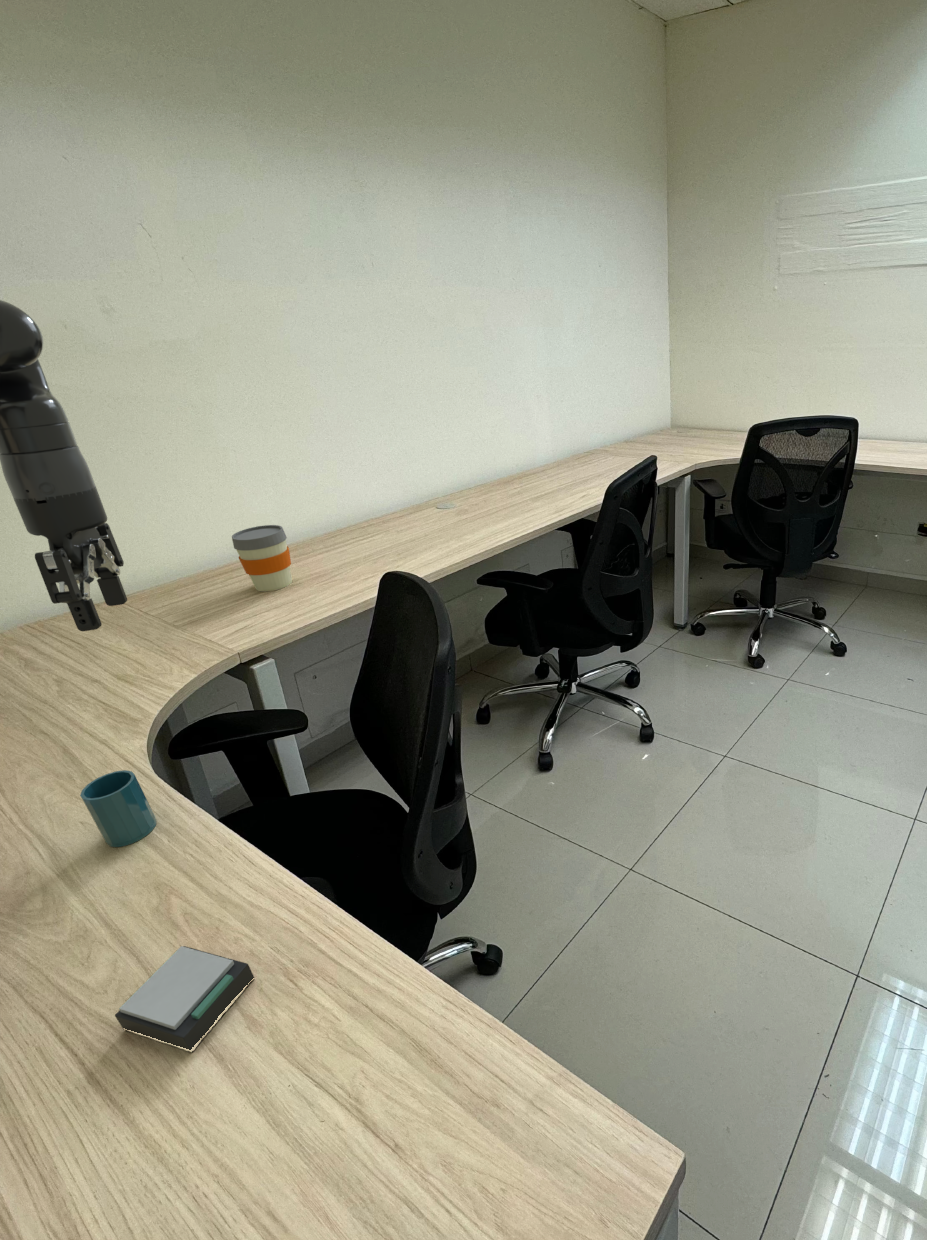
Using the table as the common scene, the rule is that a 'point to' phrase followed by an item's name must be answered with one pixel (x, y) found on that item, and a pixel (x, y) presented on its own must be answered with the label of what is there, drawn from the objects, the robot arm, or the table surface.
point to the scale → (184, 997)
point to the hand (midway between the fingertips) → (104, 616)
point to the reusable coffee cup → (264, 556)
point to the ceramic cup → (119, 808)
